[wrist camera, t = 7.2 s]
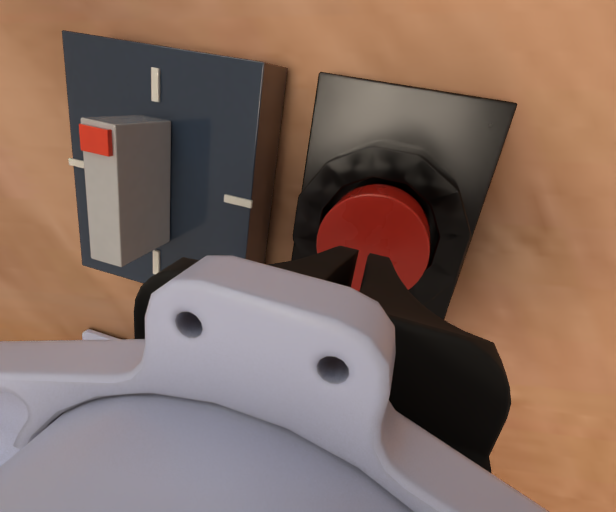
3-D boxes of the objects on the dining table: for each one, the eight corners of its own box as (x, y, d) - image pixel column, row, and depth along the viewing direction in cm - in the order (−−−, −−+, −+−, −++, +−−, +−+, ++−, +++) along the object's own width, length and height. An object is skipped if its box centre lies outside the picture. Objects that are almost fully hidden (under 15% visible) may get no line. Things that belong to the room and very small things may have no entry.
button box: (431, 336, 21) (432, 376, 18) (293, 297, 23) (272, 328, 20) (509, 103, 17) (528, 103, 14) (328, 74, 18) (307, 68, 15)
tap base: (263, 288, 23) (240, 314, 21) (117, 247, 25) (78, 266, 23) (290, 68, 19) (264, 62, 16) (107, 39, 21) (56, 29, 18)
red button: (414, 291, 18) (413, 313, 16) (320, 266, 18) (308, 284, 17) (443, 195, 16) (444, 208, 14) (337, 173, 17) (325, 182, 15)
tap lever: (170, 241, 20) (117, 269, 17) (143, 234, 21) (86, 260, 17) (171, 121, 18) (110, 125, 15) (141, 115, 18) (74, 117, 15)
